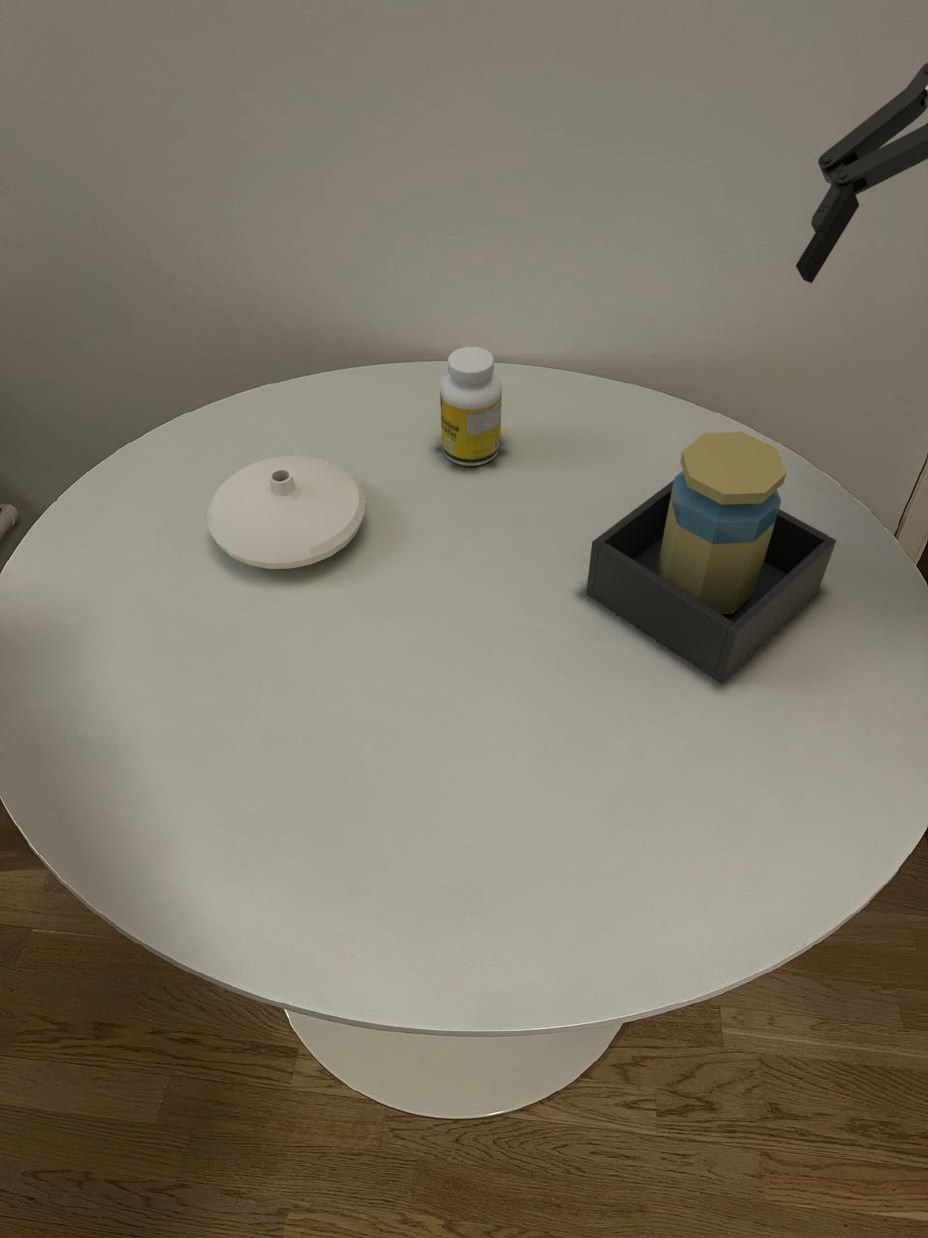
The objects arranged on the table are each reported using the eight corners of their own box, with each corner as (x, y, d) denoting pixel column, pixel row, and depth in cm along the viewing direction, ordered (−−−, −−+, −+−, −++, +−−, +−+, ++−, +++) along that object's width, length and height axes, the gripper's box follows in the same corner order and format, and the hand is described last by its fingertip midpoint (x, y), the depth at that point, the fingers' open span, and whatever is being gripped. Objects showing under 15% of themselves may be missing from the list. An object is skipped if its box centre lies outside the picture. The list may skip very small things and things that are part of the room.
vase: (182, 562, 99) (166, 508, 94) (259, 466, 109) (248, 412, 104) (326, 602, 95) (317, 548, 90) (392, 499, 105) (388, 445, 100)
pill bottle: (443, 431, 113) (440, 340, 104) (500, 432, 113) (502, 341, 104) (440, 468, 108) (437, 376, 100) (500, 469, 108) (502, 377, 100)
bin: (818, 592, 95) (837, 540, 90) (721, 683, 88) (736, 632, 83) (685, 515, 103) (695, 462, 98) (585, 593, 96) (591, 541, 91)
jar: (743, 633, 91) (781, 508, 80) (644, 608, 93) (667, 483, 82) (760, 566, 97) (797, 441, 86) (666, 543, 99) (690, 419, 88)
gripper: (1248, 105, 66) (1055, 392, 70) (901, 20, 78) (753, 268, 82) (1268, 37, 60) (1054, 356, 64) (887, -45, 72) (727, 228, 76)
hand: (884, 307), depth 73 cm, fingers open, 13 cm apart
